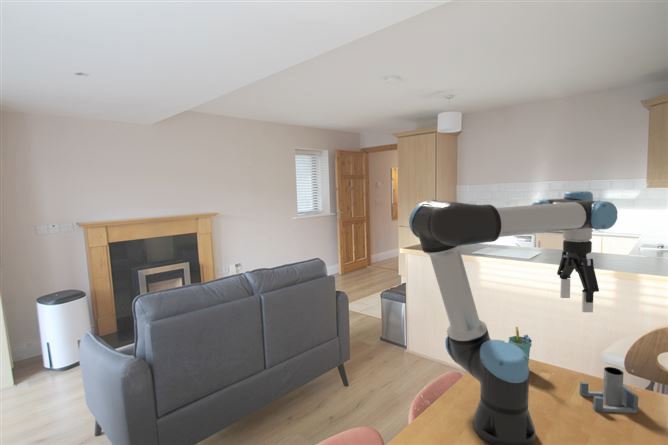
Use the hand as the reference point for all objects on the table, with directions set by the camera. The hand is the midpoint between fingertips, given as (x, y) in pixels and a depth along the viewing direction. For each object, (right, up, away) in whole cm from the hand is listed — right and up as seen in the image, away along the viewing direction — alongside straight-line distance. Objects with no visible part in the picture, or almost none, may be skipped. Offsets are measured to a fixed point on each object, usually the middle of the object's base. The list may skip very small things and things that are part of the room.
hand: (575, 304), depth 115 cm
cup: (-12, -26, +12) cm, 31 cm away
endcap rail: (+4, -28, -9) cm, 29 cm away
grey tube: (+5, -28, -9) cm, 30 cm away
